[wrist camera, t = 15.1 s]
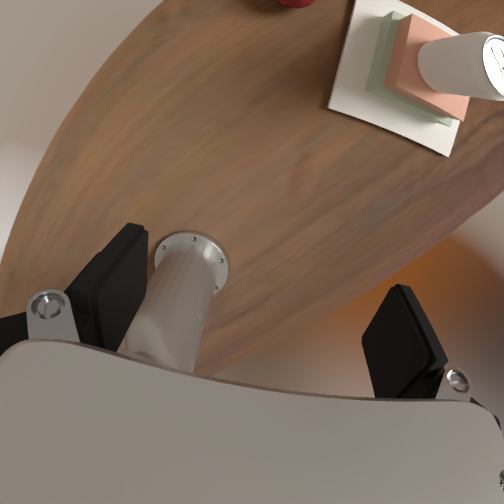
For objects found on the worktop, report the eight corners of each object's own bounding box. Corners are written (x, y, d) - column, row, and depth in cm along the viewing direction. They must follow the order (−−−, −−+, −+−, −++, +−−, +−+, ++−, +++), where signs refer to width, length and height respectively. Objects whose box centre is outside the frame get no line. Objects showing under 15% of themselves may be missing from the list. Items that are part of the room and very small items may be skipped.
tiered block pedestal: (444, 155, 37) (477, 172, 29) (327, 107, 36) (342, 111, 28) (472, 46, 27) (507, 44, 19) (357, -13, 26) (378, -36, 18)
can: (429, 99, 25) (494, 110, 15) (406, 47, 23) (467, 33, 12) (467, 86, 24) (534, 96, 13) (447, 36, 21) (512, 27, 11)
